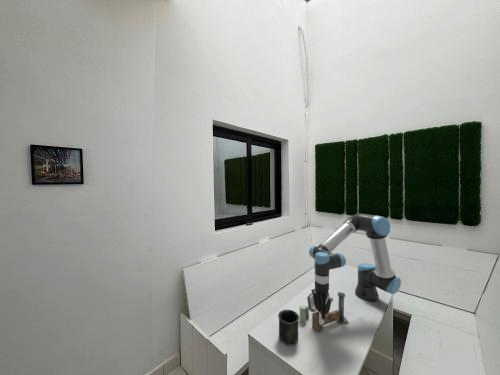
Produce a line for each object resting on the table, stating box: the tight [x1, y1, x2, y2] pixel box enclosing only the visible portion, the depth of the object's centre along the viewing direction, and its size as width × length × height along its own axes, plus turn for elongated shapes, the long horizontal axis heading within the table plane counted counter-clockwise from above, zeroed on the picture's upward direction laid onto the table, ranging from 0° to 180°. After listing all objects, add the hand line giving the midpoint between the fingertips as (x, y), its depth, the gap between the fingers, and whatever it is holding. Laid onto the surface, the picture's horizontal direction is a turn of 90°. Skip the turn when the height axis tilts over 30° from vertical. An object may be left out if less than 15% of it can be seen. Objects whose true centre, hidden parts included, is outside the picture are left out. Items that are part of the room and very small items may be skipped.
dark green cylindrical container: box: [277, 309, 300, 346], centre depth 107 cm, size 11×15×12 cm
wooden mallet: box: [311, 309, 339, 333], centre depth 115 cm, size 18×4×8 cm, turn 114°
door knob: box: [336, 291, 350, 325], centre depth 120 cm, size 6×6×16 cm
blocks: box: [299, 305, 310, 323], centre depth 121 cm, size 6×6×8 cm
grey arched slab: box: [306, 292, 327, 313], centre depth 135 cm, size 17×5×10 cm, turn 121°
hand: (321, 323), depth 110 cm, fingers closed
